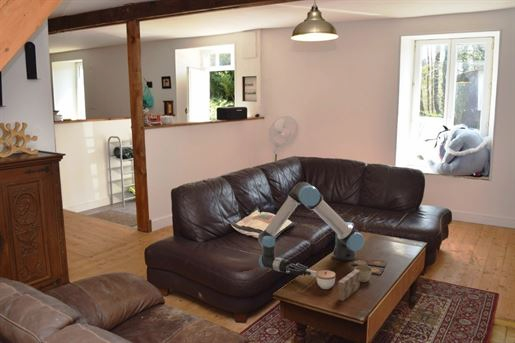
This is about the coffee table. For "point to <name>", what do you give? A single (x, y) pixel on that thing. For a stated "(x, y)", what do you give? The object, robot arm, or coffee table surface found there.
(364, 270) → the flower pot
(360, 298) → the coffee table surface
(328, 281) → the lidded jar
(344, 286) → the grey brown rectangular panel
